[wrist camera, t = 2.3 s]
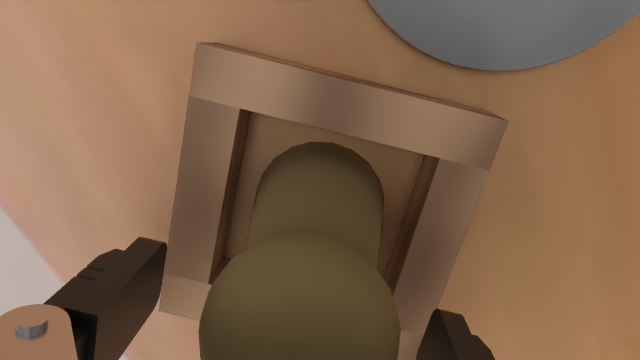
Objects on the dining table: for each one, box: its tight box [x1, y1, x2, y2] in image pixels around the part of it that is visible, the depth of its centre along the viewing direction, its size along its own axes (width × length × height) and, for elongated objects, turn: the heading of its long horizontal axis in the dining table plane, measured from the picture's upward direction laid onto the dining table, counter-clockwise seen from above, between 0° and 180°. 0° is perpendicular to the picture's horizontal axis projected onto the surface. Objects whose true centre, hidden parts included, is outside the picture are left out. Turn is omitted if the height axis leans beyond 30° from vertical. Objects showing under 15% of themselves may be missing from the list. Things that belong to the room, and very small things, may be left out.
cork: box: [199, 142, 401, 360], centre depth 15 cm, size 6×6×11 cm
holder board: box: [159, 43, 508, 360], centre depth 19 cm, size 12×12×2 cm
